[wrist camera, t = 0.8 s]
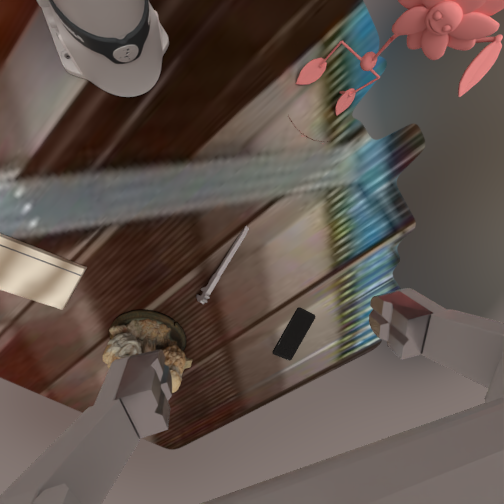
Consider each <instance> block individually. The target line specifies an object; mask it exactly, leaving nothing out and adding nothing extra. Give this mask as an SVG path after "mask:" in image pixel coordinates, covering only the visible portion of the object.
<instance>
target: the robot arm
mask: <svg viewBox="0 0 504 504" xmlns="http://www.w3.org/2000/svg"><path fill="white" fill-rule="evenodd" d="M36 1H37V2H38V4H39V6H40V7H41V8H42V11H43V13H44V16H45V19H46V21H47V24H48V27H49V30H50V32H51V35H52V38H53V40H54V43H55V46H56V48H57V51H58V54H59V57H60V59H61V62H62V64H63V66H64V68H65V70H66V71H67V72H68V73H70V74H72V75H75V76H77V77H81V78H84V79H87V80H89V81H91V82H92V83H94V84H95V85H96V86H98V87H99V88H101V89H102V90H104V91H106V92H108V93H111V94H114V95H117V96H122V97H135V96H139V95H142V94H144V93H146V92H148V91H149V90H150V89H151V88H152V87H153V86H154V85H155V84H156V82H157V80H158V78H159V76H160V72H161V66H162V57H163V55H164V53H165V52H166V50H167V48H168V45H169V39H168V35H167V33H166V32H165V30H164V29H163V27H162V25H161V24H160V22H159V17H158V14H157V11H156V10H154V9H153V8H152V6H151V4H150V3H149V0H36ZM66 56H70V57H71V58H70V59H67V58H66ZM370 306H371V307H372V308H373V310H372V312H371V313H370V315H369V323H370V326H371V329H372V330H373V332H374V333H375V334H376V335H377V336H378V337H379V338H381V339H383V340H385V341H387V345H388V347H389V348H390V349H391V350H392V351H393V352H394V353H395V354H396V355H397V356H398V357H399V358H400V359H406V358H409V357H413V356H417V355H420V354H422V355H423V356H424V357H426V358H428V359H430V360H433V361H434V362H436V363H438V364H440V365H442V366H444V367H446V368H448V369H451V370H452V371H455V372H456V373H459V374H461V375H462V376H464V377H466V378H469V379H470V380H472V381H474V382H477V383H478V384H481V385H483V386H485V387H487V388H489V389H488V392H487V394H486V396H485V403H484V404H481V405H478V406H476V407H473V408H470V409H467V410H464V411H461V412H459V413H455V414H453V415H450V416H447V417H444V418H441V419H439V420H436V421H433V422H430V423H427V424H424V425H421V426H419V427H416V428H413V429H410V430H407V431H404V432H402V433H399V434H396V435H393V436H390V437H388V438H385V439H382V440H379V441H376V442H374V443H370V444H368V445H365V446H362V447H359V448H356V449H354V450H351V451H348V452H345V453H342V454H339V455H337V456H334V457H331V458H328V459H326V460H322V461H320V462H317V463H314V464H311V465H309V466H305V467H303V468H300V469H297V470H294V471H292V472H289V473H286V474H283V475H280V476H277V477H274V478H272V479H269V480H266V481H263V482H260V483H257V484H255V485H252V486H249V487H246V488H243V489H241V490H238V491H235V492H232V493H229V494H226V495H223V496H221V497H218V498H215V499H212V500H209V501H207V502H204V503H201V504H504V323H502V322H498V321H495V320H491V319H487V318H483V317H479V316H475V315H471V314H467V313H464V312H459V311H455V310H452V309H449V310H446V309H445V308H443V307H441V306H440V305H438V304H436V303H434V302H433V301H431V300H430V299H428V298H426V297H425V296H423V295H421V294H420V293H418V292H416V291H415V290H413V289H410V288H404V289H400V290H397V291H394V292H390V293H386V294H382V295H378V296H374V297H373V298H372V299H371V304H370ZM171 396H172V377H171V372H170V369H169V367H168V366H167V365H165V355H164V353H163V350H161V349H159V350H155V351H150V352H146V353H141V354H137V355H132V356H129V357H125V358H120V359H116V360H114V361H113V362H112V363H111V366H110V368H109V370H108V373H107V375H106V378H105V380H104V382H103V385H102V387H101V390H100V392H99V394H98V397H97V399H96V402H95V404H94V406H92V407H88V408H87V409H86V410H85V411H84V412H83V413H82V414H81V415H80V416H79V417H78V418H77V419H76V420H75V421H74V423H72V425H70V426H69V427H68V429H67V430H65V432H63V433H62V434H61V435H60V437H58V438H57V439H56V440H55V441H54V443H52V444H51V446H49V447H48V448H47V449H46V450H45V452H43V453H42V454H41V455H40V456H39V457H38V458H37V459H36V460H35V462H34V463H32V464H31V465H30V467H28V468H27V470H25V471H24V473H22V474H21V475H20V477H18V479H16V481H14V482H13V483H12V484H11V485H10V486H9V487H8V488H7V490H5V491H4V492H3V493H2V494H1V496H0V504H102V503H103V501H104V499H105V498H106V496H107V494H108V493H109V491H110V489H111V488H112V486H113V484H114V483H115V481H116V479H117V478H118V476H119V474H120V473H121V471H122V469H123V468H124V466H125V464H126V463H127V461H128V459H129V458H130V456H131V454H132V452H133V451H134V449H135V448H136V446H137V444H138V443H139V441H140V440H139V439H140V438H143V437H146V436H149V435H152V434H155V433H159V432H162V431H165V430H168V425H169V416H170V406H169V404H168V400H169V399H170V397H171Z"/></svg>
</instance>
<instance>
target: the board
mask: <svg viewBox="0 0 504 504" xmlns="http://www.w3.org/2000/svg"><path fill="white" fill-rule="evenodd" d="M86 268H87V267H85V266H82V265H80V264H77V263H75V262H72V261H70V260H67V259H64V258H62V257H59V256H57V255H54V254H52V253H49V252H47V251H44V250H42V249H39V248H37V247H34V246H31V245H29V244H26V243H24V242H21V241H19V240H16V239H14V238H11V237H9V236H6V235H4V234H1V233H0V290H2V291H6V292H9V293H12V294H15V295H18V296H21V297H24V298H27V299H31V300H34V301H37V302H40V303H43V304H46V305H49V306H53V307H56V308H59V309H62V310H63V309H64V308H65V307H66V305H67V303H68V301H69V299H70V297H71V296H72V294H73V292H74V290H75V288H76V287H77V285H78V283H79V281H80V279H81V277H82V276H83V274H84V272H85V270H86Z"/></svg>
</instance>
